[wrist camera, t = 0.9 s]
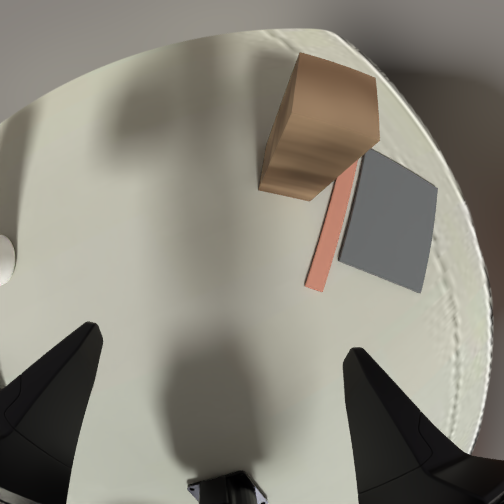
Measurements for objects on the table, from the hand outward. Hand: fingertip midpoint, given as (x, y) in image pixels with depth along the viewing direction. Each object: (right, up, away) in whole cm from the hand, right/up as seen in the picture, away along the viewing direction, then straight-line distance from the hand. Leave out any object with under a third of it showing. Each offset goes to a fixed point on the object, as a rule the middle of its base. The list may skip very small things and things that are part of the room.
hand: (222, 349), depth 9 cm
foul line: (+9, +9, +15) cm, 20 cm away
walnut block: (+4, +10, +15) cm, 19 cm away
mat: (+15, +6, +16) cm, 23 cm away
